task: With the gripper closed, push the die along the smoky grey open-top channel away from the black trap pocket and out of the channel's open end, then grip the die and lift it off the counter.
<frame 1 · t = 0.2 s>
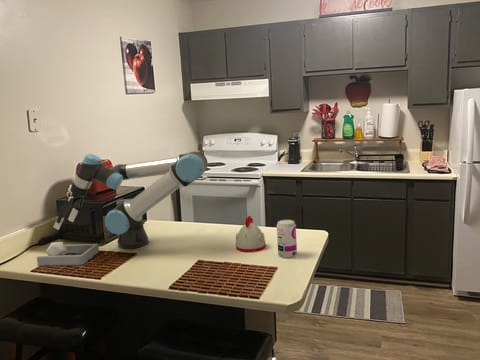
hand: (63, 224, 211), 15 cm above the countertop, tool tilted 30°, fingers open, 13 cm apart
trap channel: (68, 258, 209), on the countertop
supplement can: (287, 255, 194), on the countertop
die: (57, 259, 209), on the countertop
kitchen timer: (250, 247, 208), on the countertop
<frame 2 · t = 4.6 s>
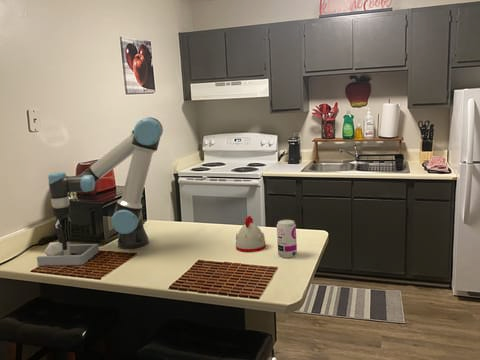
hand: (67, 255, 208), 2 cm above the countertop, tool pointing down, fingers closed
die: (56, 259, 209), on the countertop, touching gripper
everything else where it was.
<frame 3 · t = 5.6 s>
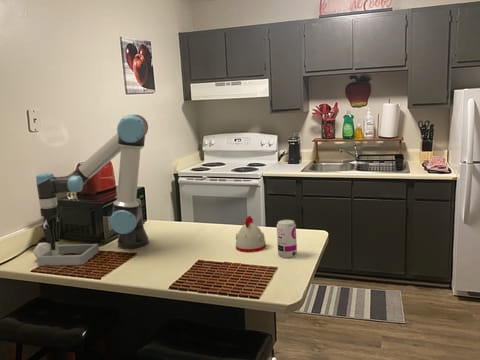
hand: (55, 255, 209), 2 cm above the countertop, tool pointing down, fingers closed
die: (45, 259, 210), on the countertop, touching gripper
everything else where it was.
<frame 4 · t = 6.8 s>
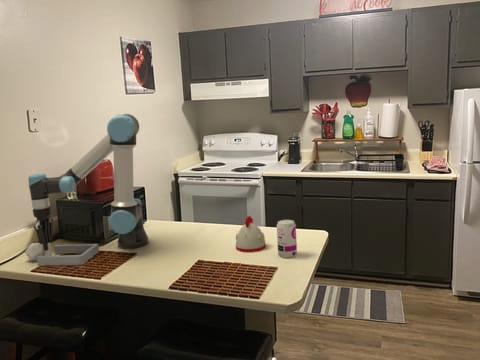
hand: (48, 256, 209), 1 cm above the countertop, tool pointing down, fingers closed
die: (37, 260, 210), on the countertop, touching gripper
everything else where it was.
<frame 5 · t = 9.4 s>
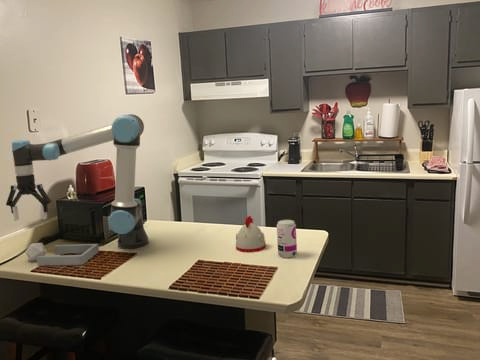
hand: (30, 219, 207), 19 cm above the countertop, tool pointing down, fingers open, 13 cm apart
die: (37, 260, 210), on the countertop
everything else where it was.
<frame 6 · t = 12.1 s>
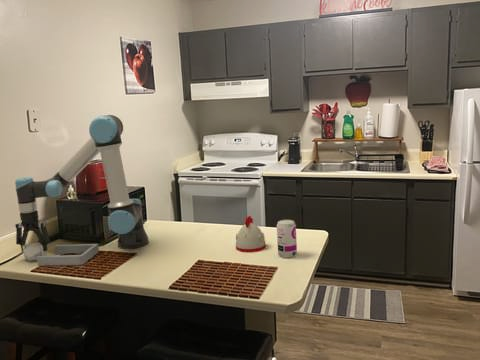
hand: (35, 257, 210), 1 cm above the countertop, tool pointing down, fingers closed on die, 8 cm apart
die: (35, 260, 210), on the countertop, touching gripper
everything else where it was.
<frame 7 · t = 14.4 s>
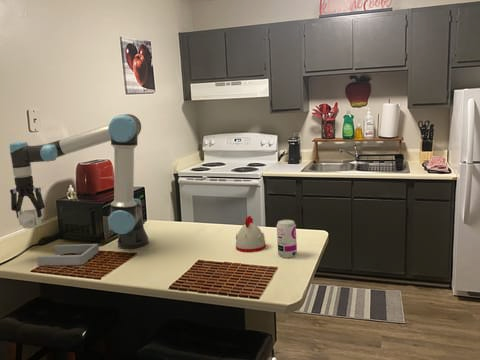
hand: (30, 224, 208), 17 cm above the countertop, tool pointing down, fingers closed on die, 8 cm apart
die: (30, 227, 208), point 16 cm above the countertop, touching gripper
everything else where it was.
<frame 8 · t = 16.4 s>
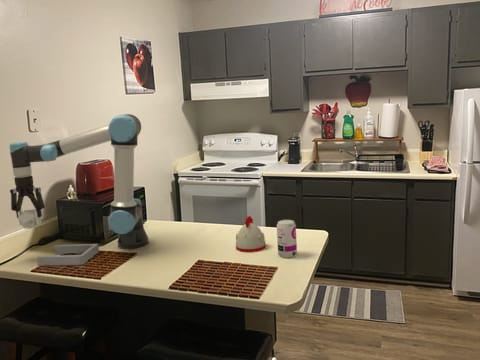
hand: (30, 224, 208), 17 cm above the countertop, tool pointing down, fingers closed on die, 8 cm apart
die: (30, 227, 208), point 16 cm above the countertop, touching gripper
everything else where it was.
at the end: die inside the target area (2.1 cm from its centre), point 15.8 cm above the countertop; the gripper is holding die; die tilted 2° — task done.
